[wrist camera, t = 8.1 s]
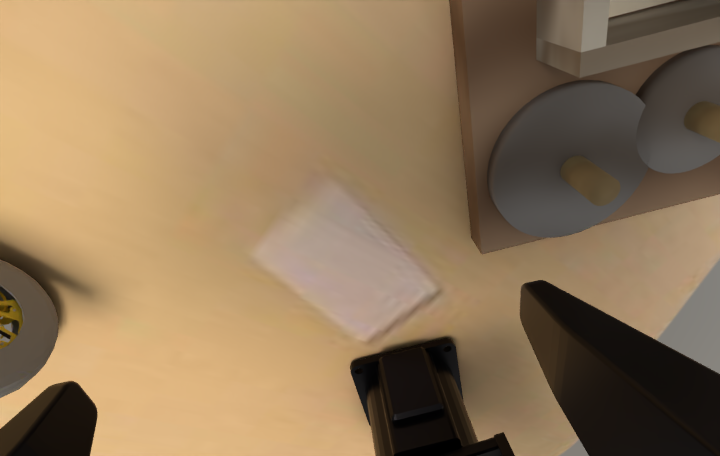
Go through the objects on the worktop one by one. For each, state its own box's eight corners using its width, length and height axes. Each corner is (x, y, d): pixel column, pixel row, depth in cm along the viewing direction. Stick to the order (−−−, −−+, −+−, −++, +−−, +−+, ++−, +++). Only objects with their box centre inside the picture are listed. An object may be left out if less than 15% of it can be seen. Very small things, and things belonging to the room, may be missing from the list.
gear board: (696, 180, 22) (777, 225, 19) (471, 237, 23) (506, 294, 19) (822, -355, 13) (1047, -489, 9) (426, -249, 13) (480, -335, 9)
